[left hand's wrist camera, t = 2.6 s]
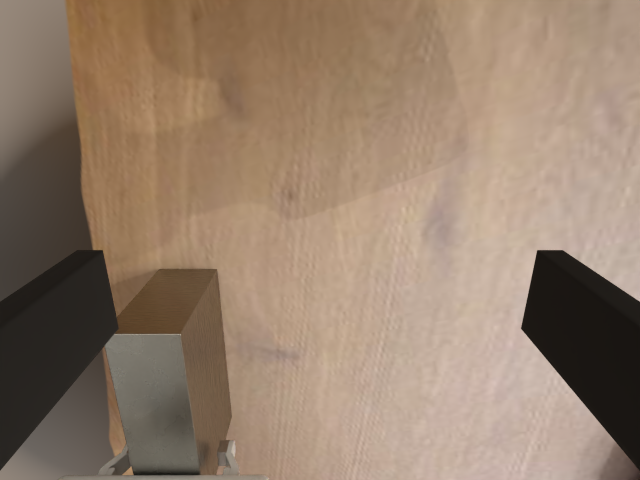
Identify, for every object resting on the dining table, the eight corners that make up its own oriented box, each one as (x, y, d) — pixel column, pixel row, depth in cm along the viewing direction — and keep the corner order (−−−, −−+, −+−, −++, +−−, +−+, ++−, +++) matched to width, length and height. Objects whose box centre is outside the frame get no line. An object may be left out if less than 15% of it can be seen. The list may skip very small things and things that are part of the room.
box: (159, 269, 43) (101, 334, 32) (217, 269, 43) (180, 334, 32) (182, 416, 50) (141, 513, 39) (231, 416, 50) (206, 513, 39)
